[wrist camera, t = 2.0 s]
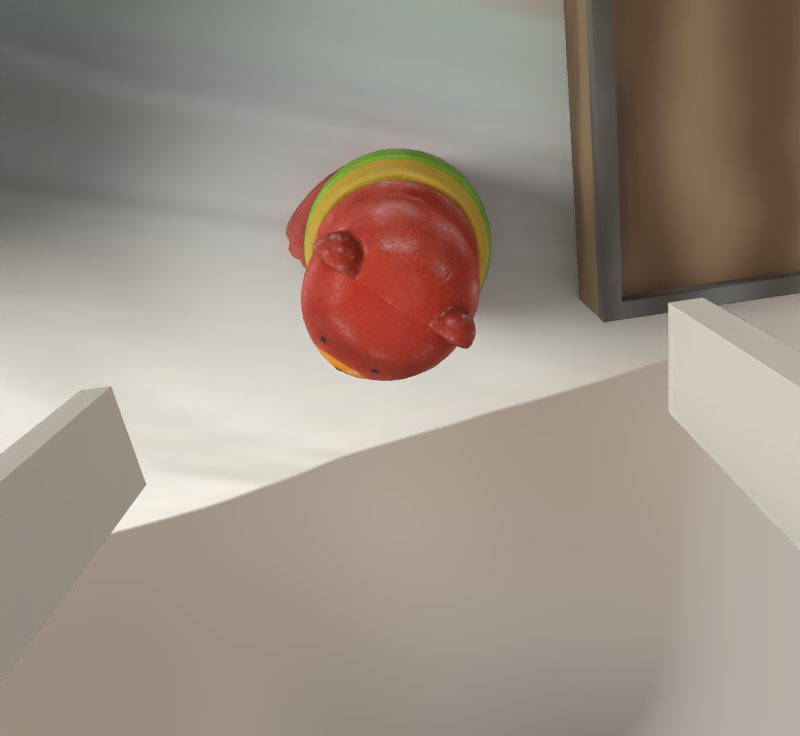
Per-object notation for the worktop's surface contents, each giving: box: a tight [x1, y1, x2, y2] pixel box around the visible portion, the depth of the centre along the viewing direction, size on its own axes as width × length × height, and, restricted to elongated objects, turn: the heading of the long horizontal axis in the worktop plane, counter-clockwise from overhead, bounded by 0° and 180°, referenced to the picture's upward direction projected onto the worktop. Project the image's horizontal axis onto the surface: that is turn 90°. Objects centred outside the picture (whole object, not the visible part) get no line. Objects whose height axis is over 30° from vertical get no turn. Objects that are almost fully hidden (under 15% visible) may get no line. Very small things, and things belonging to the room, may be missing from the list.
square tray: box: [564, 0, 800, 322], centre depth 33 cm, size 18×18×5 cm
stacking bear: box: [286, 149, 491, 381], centre depth 29 cm, size 11×10×18 cm
